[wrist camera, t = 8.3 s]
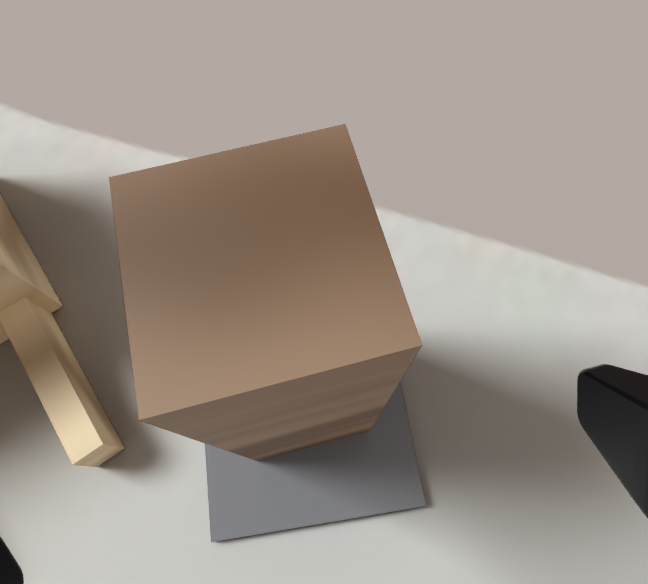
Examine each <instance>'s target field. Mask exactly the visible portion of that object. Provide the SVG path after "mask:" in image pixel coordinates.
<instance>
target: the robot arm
mask: <svg viewBox="0 0 648 584" xmlns="http://www.w3.org/2000/svg"><path fill="white" fill-rule="evenodd" d="M577 413H578V418H579V421H580V423H581V425H582V427H583V429H584V430H585V432H586V433H587V435H588V436H589V437H590V439H591V440H592V442H593V443H594V445H595V446H596V447H597V449H598V450H599V452H600V453H601V454H602V456H603V457H604V459H605V460H606V462H607V463H608V464H609V466H610V467H611V469H612V470H613V471H614V473H615V474H616V476H617V477H618V479H619V480H620V481H621V483H622V484H623V486H624V487H625V488H626V490H627V491H628V493H629V494H630V495H631V497H632V498H633V500H634V501H635V502H636V504H637V505H638V506H639V508H640V509H641V510H642V512H643V513H644V514H645V515H646V517H647V518H648V375H644V374H641V373H637V372H634V371H630V370H626V369H623V368H619V367H615V366H612V365H608V364H602V365H598V366H595V367H591V368H587V369H584V370H582V371H581V372H580V373H579V375H578V380H577ZM23 583H24V580H23V574H22V570H21V568H20V566H19V565H18V563H17V562H16V560H15V559H14V557H13V555H12V554H11V552H10V551H9V549H8V548H7V546H6V544H5V543H4V541H3V540H2V538H1V537H0V584H23Z"/></svg>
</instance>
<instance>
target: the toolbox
mask: <svg viewBox="0 0 648 584" xmlns="http://www.w3.org/2000/svg"><path fill="white" fill-rule="evenodd" d="M61 307H62V304H61V302H60V300H59V298H58V297H57V295H56V293H55V291H54V289H53V288H52V286H51V284H50V282H49V280H48V279H47V277H46V275H45V273H44V272H43V270H42V268H41V266H40V264H39V263H38V261H37V259H36V257H35V255H34V254H33V252H32V250H31V248H30V246H29V245H28V243H27V241H26V239H25V237H24V236H23V234H22V232H21V230H20V228H19V227H18V225H17V223H16V221H15V219H14V218H13V216H12V214H11V212H10V210H9V209H8V207H7V205H6V203H5V201H4V200H3V198H2V196H1V194H0V344H1V343H3V342H5V341H6V340H8V339H10V341H11V343H12V345H13V347H14V349H15V351H16V353H17V355H18V357H19V359H20V361H21V363H22V365H23V367H24V369H25V371H26V373H27V375H28V377H29V379H30V381H31V383H32V385H33V387H34V389H35V391H36V393H37V395H38V397H39V399H40V401H41V403H42V405H43V407H44V409H45V411H46V413H47V415H48V417H49V419H50V421H51V423H52V425H53V427H54V429H55V431H56V433H57V435H58V437H59V439H60V441H61V443H62V445H63V447H64V449H65V451H66V453H67V455H68V457H69V459H70V461H71V463H72V465H81V466H92V467H98V466H100V465H101V464H103V463H104V462H105V461H107V460H108V459H110V458H111V457H113V456H114V455H116V454H117V453H119V452H120V451H121V450H123V449H124V446H123V444H122V442H121V440H120V438H119V437H118V435H117V433H116V431H115V429H114V427H113V426H112V424H111V422H110V420H109V418H108V416H107V414H106V413H105V411H104V409H103V407H102V405H101V403H100V402H99V400H98V398H97V396H96V394H95V392H94V391H93V389H92V387H91V385H90V383H89V381H88V380H87V378H86V376H85V374H84V372H83V370H82V369H81V367H80V365H79V363H78V361H77V359H76V358H75V356H74V354H73V352H72V350H71V348H70V347H69V345H68V343H67V341H66V339H65V337H64V335H63V334H62V332H61V330H60V328H59V326H58V324H57V323H56V321H55V319H54V317H53V315H52V312H54V311H56V310H57V309H59V308H61Z"/></svg>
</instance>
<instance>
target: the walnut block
mask: <svg viewBox="0 0 648 584" xmlns="http://www.w3.org/2000/svg"><path fill="white" fill-rule="evenodd" d="M109 181H110V189H111V197H112V205H113V214H114V222H115V230H116V238H117V246H118V255H119V263H120V271H121V279H122V287H123V296H124V304H125V312H126V320H127V328H128V337H129V345H130V353H131V361H132V369H133V378H134V386H135V394H136V402H137V410H138V419H139V420H140V421H142V422H145V423H148V424H151V425H154V426H157V427H160V428H163V429H165V430H168V431H171V432H174V433H177V434H180V435H183V436H186V437H189V438H191V439H194V440H197V441H200V442H203V443H206V444H209V445H212V446H214V447H217V448H220V449H223V450H226V451H229V452H232V453H235V454H238V455H240V456H243V457H246V458H249V459H252V460H255V461H261V460H265V459H268V458H272V457H275V456H279V455H283V454H286V453H290V452H294V451H297V450H301V449H304V448H308V447H312V446H315V445H319V444H323V443H326V442H330V441H333V440H337V439H341V438H344V437H348V436H352V435H355V434H359V433H362V432H366V431H370V429H371V428H372V426H373V424H374V423H375V421H376V420H377V418H378V416H379V415H380V413H381V411H382V410H383V408H384V407H385V405H386V403H387V402H388V400H389V398H390V397H391V395H392V394H393V392H394V390H395V389H396V387H397V385H398V384H399V382H400V381H401V379H402V377H403V376H404V374H405V372H406V371H407V369H408V367H409V366H410V364H411V363H412V361H413V359H414V358H415V356H416V354H417V353H418V351H419V350H420V348H421V346H422V343H421V340H420V338H419V335H418V332H417V329H416V326H415V323H414V320H413V317H412V315H411V312H410V309H409V306H408V303H407V300H406V297H405V294H404V291H403V289H402V286H401V283H400V280H399V277H398V274H397V271H396V268H395V266H394V263H393V260H392V257H391V254H390V251H389V248H388V245H387V243H386V240H385V237H384V234H383V231H382V228H381V225H380V222H379V220H378V217H377V214H376V211H375V208H374V205H373V202H372V200H371V197H370V194H369V191H368V188H367V185H366V182H365V179H364V176H363V174H362V171H361V168H360V165H359V162H358V159H357V156H356V154H355V151H354V148H353V145H352V142H351V139H350V136H349V133H348V130H347V127H346V125H345V124H343V125H339V126H334V127H330V128H325V129H321V130H317V131H312V132H308V133H303V134H299V135H294V136H290V137H286V138H281V139H277V140H272V141H268V142H263V143H260V144H255V145H250V146H246V147H241V148H237V149H232V150H228V151H224V152H219V153H215V154H210V155H206V156H202V157H197V158H193V159H188V160H184V161H179V162H175V163H171V164H166V165H162V166H157V167H153V168H148V169H144V170H140V171H135V172H131V173H126V174H122V175H118V176H113V177H109Z"/></svg>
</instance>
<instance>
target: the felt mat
mask: <svg viewBox="0 0 648 584" xmlns="http://www.w3.org/2000/svg"><path fill="white" fill-rule="evenodd" d="M205 452H206V468H207V484H208V499H209V515H210V531H211V542H215V541H221V540H227V539H233V538H239V537H245V536H251V535H257V534H263V533H268V532H274V531H280V530H286V529H292V528H298V527H304V526H310V525H316V524H322V523H328V522H334V521H340V520H346V519H352V518H357V517H363V516H369V515H375V514H381V513H387V512H393V511H399V510H405V509H411V508H417V507H423V506H426V503H425V498H424V493H423V488H422V484H421V479H420V474H419V469H418V465H417V460H416V455H415V451H414V446H413V441H412V436H411V432H410V427H409V422H408V417H407V413H406V408H405V403H404V398H403V394H402V389H401V384H400V382H399V384H398V385H397V387H396V389H395V390H394V392H393V394H392V395H391V397H390V398H389V400H388V402H387V403H386V405H385V407H384V408H383V410H382V411H381V413H380V415H379V416H378V418H377V420H376V421H375V423H374V424H373V426H372V428H371V429H370V431H366V432H362V433H359V434H355V435H352V436H348V437H344V438H341V439H337V440H333V441H330V442H326V443H323V444H319V445H315V446H312V447H308V448H304V449H301V450H297V451H294V452H290V453H286V454H283V455H279V456H275V457H272V458H268V459H265V460H261V461H255V460H252V459H249V458H246V457H243V456H240V455H238V454H235V453H232V452H229V451H226V450H223V449H220V448H217V447H214V446H212V445H209V444H206V443H205Z"/></svg>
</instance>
